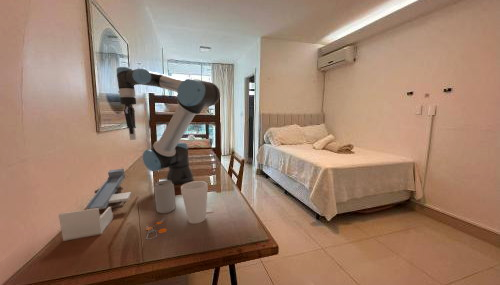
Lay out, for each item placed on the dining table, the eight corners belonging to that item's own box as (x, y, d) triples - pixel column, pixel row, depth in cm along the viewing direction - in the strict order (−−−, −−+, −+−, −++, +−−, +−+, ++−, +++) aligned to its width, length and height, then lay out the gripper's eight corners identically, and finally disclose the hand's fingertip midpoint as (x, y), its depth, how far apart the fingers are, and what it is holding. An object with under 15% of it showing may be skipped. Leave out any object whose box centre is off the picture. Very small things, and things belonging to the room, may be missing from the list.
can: (153, 210, 85) (150, 182, 83) (171, 204, 90) (168, 178, 88) (161, 216, 79) (158, 186, 78) (179, 209, 85) (176, 181, 83)
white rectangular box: (81, 223, 77) (77, 200, 76) (113, 218, 80) (110, 195, 79) (63, 240, 66) (58, 214, 65) (101, 234, 69) (97, 208, 68)
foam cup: (182, 216, 79) (179, 183, 77) (207, 210, 82) (204, 179, 81) (185, 228, 70) (182, 192, 68) (212, 221, 74) (209, 186, 72)
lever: (111, 178, 104) (110, 170, 102) (140, 174, 107) (138, 167, 106) (87, 210, 78) (85, 200, 77) (126, 205, 82) (124, 195, 80)
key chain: (167, 235, 67) (167, 233, 67) (142, 242, 64) (142, 239, 64) (167, 218, 79) (167, 216, 78) (146, 222, 76) (145, 220, 76)
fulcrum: (100, 203, 95) (98, 186, 94) (127, 199, 98) (125, 183, 97) (93, 211, 87) (90, 192, 86) (122, 206, 90) (119, 189, 89)
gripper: (123, 98, 118) (128, 138, 122) (116, 96, 106) (122, 141, 109) (138, 98, 120) (142, 137, 124) (132, 95, 108) (137, 140, 111)
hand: (133, 139), depth 116 cm, fingers closed
